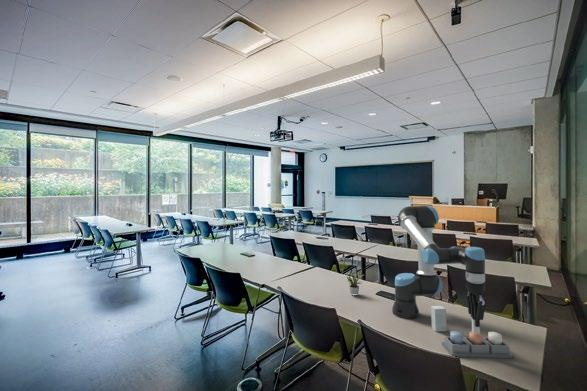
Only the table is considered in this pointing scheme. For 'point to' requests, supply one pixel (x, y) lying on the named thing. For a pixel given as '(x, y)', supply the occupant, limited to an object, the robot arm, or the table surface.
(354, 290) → the house plant
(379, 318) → the table surface
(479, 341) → the button terracotta
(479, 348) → the tray
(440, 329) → the skincare box
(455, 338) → the blue button
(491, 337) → the button cream
